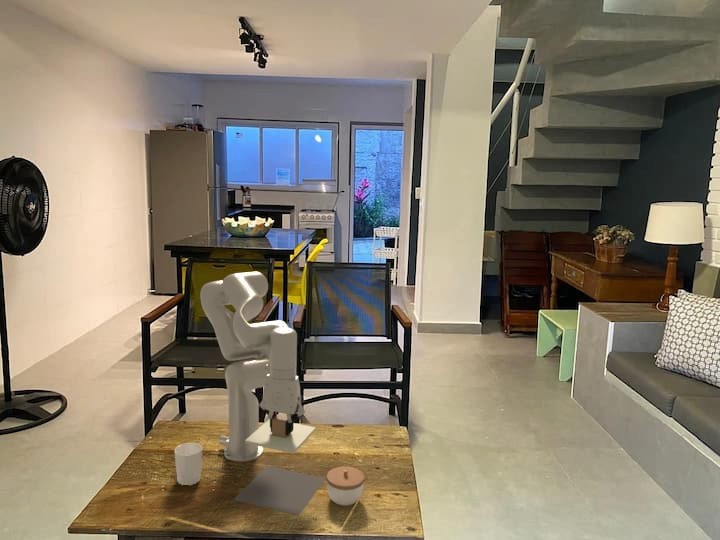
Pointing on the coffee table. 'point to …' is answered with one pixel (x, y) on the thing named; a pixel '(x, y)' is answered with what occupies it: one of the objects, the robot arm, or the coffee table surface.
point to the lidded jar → (345, 485)
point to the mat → (280, 490)
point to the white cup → (188, 463)
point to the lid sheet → (281, 442)
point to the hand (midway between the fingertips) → (281, 431)
